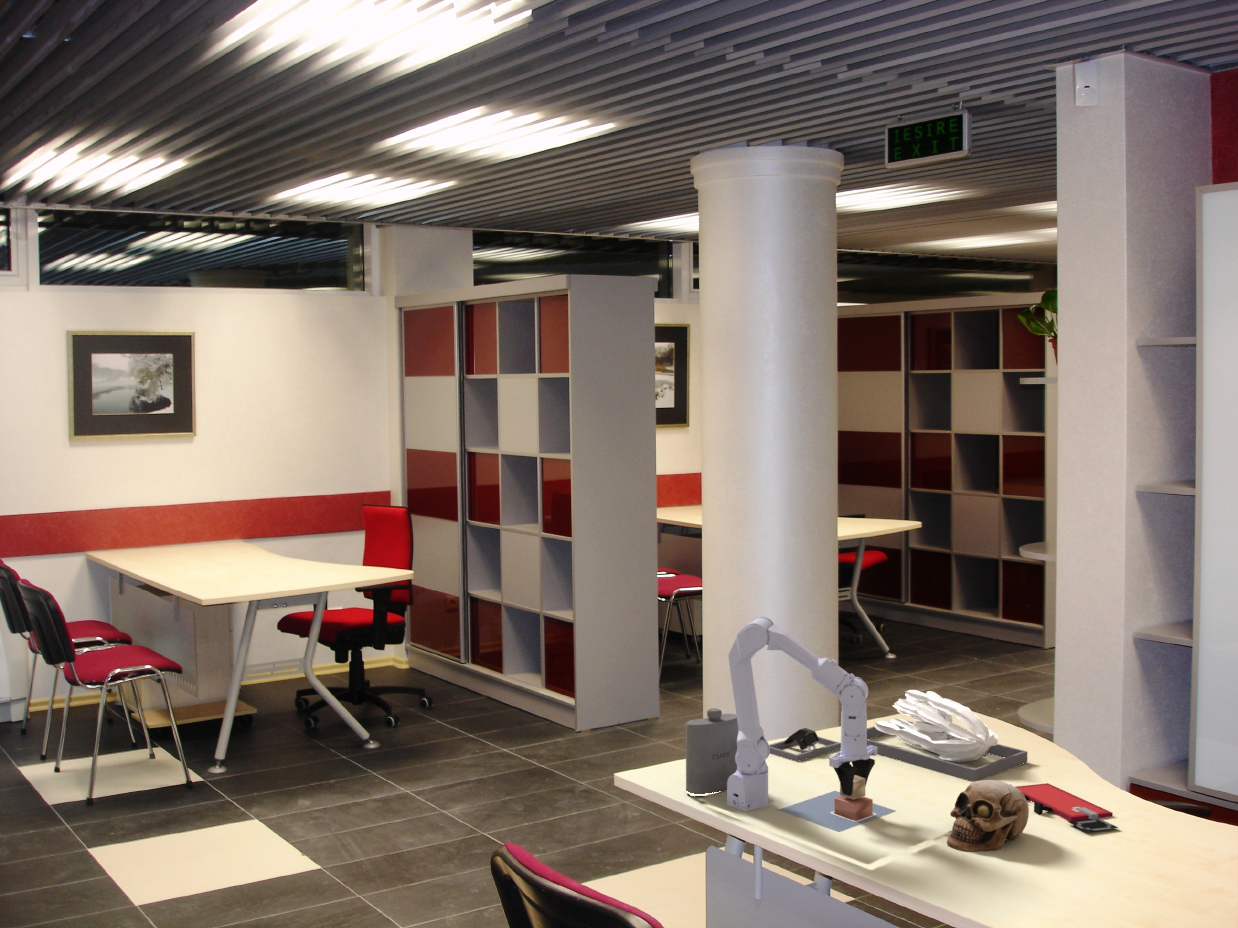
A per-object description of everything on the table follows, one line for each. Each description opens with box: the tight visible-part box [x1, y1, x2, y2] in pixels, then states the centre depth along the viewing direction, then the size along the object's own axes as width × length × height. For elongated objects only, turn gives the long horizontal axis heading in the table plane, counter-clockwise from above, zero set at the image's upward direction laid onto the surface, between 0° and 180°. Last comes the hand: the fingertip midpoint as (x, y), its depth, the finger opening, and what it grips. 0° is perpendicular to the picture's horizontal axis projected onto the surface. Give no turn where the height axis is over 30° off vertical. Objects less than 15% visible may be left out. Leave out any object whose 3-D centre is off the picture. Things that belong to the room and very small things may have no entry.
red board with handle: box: [1015, 783, 1119, 832], centre depth 270 cm, size 30×3×15 cm
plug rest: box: [769, 736, 841, 762], centre depth 316 cm, size 18×12×2 cm, turn 129°
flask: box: [685, 707, 739, 794], centre depth 283 cm, size 15×6×20 cm, turn 122°
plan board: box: [777, 790, 896, 833], centre depth 267 cm, size 20×18×1 cm
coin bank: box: [946, 779, 1030, 852], centre depth 252 cm, size 16×17×13 cm
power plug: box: [785, 727, 820, 751], centre depth 316 cm, size 6×8×12 cm
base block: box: [835, 796, 874, 821], centre depth 265 cm, size 6×6×4 cm
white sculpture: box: [874, 689, 999, 764], centre depth 312 cm, size 17×18×35 cm
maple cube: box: [839, 775, 866, 799], centre depth 264 cm, size 4×4×4 cm
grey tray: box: [867, 720, 1028, 783], centre depth 312 cm, size 24×41×3 cm, turn 39°
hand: (853, 792), depth 264 cm, fingers closed on maple cube, 4 cm apart
